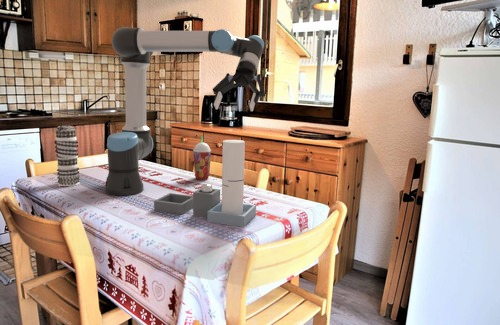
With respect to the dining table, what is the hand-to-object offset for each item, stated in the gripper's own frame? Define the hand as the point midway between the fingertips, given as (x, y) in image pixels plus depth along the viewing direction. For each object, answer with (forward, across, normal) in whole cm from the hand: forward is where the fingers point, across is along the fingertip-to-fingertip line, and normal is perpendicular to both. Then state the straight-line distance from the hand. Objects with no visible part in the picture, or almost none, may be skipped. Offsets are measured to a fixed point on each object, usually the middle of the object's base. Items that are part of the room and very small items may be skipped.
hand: (233, 107), depth 140 cm
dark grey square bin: (+35, +16, -16) cm, 41 cm away
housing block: (+36, +4, -15) cm, 39 cm away
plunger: (+31, +4, -11) cm, 33 cm away
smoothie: (+4, +26, -47) cm, 54 cm away
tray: (+37, -6, -14) cm, 40 cm away
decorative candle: (+27, +73, -24) cm, 81 cm away
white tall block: (+36, -6, -13) cm, 39 cm away
